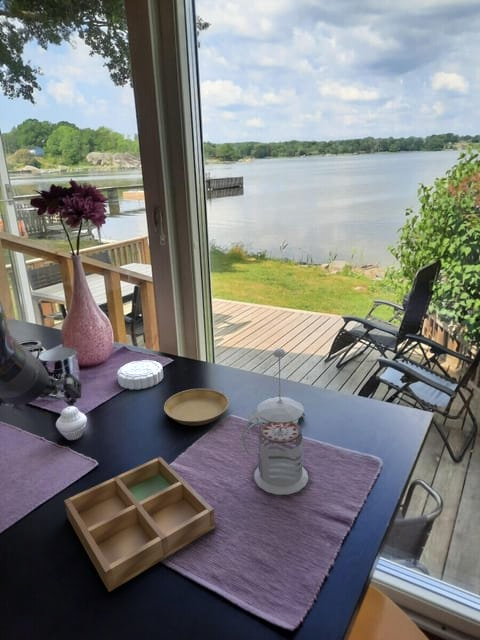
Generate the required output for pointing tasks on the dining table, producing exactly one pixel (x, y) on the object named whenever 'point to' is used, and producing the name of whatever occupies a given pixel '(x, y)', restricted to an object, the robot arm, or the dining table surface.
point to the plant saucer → (196, 406)
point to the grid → (137, 520)
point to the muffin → (71, 423)
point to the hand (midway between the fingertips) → (47, 402)
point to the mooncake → (140, 374)
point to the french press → (275, 465)
